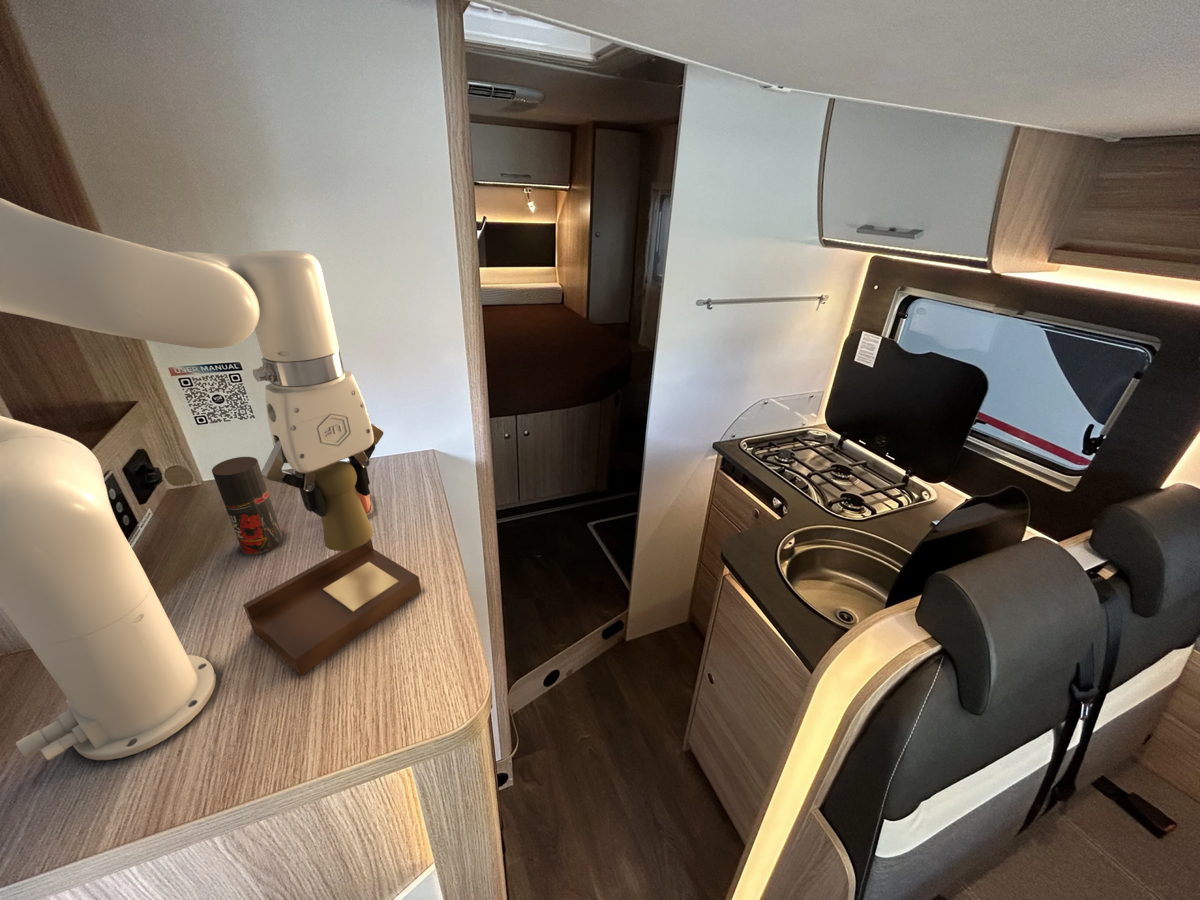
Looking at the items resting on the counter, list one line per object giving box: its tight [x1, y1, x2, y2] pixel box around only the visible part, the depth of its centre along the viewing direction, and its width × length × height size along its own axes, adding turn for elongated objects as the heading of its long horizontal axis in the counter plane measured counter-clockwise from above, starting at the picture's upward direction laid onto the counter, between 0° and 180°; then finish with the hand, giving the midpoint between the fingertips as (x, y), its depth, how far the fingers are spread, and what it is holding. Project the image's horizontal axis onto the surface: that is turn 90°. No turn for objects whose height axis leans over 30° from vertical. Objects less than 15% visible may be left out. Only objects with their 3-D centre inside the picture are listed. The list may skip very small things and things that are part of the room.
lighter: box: [347, 459, 374, 519], centre depth 91 cm, size 8×3×10 cm, turn 25°
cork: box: [315, 460, 374, 552], centre depth 65 cm, size 6×6×11 cm
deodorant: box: [211, 456, 284, 555], centre depth 80 cm, size 6×6×15 cm
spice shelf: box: [242, 538, 422, 677], centre depth 70 cm, size 18×12×5 cm, turn 146°
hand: (340, 500), depth 65 cm, fingers closed on cork, 5 cm apart
